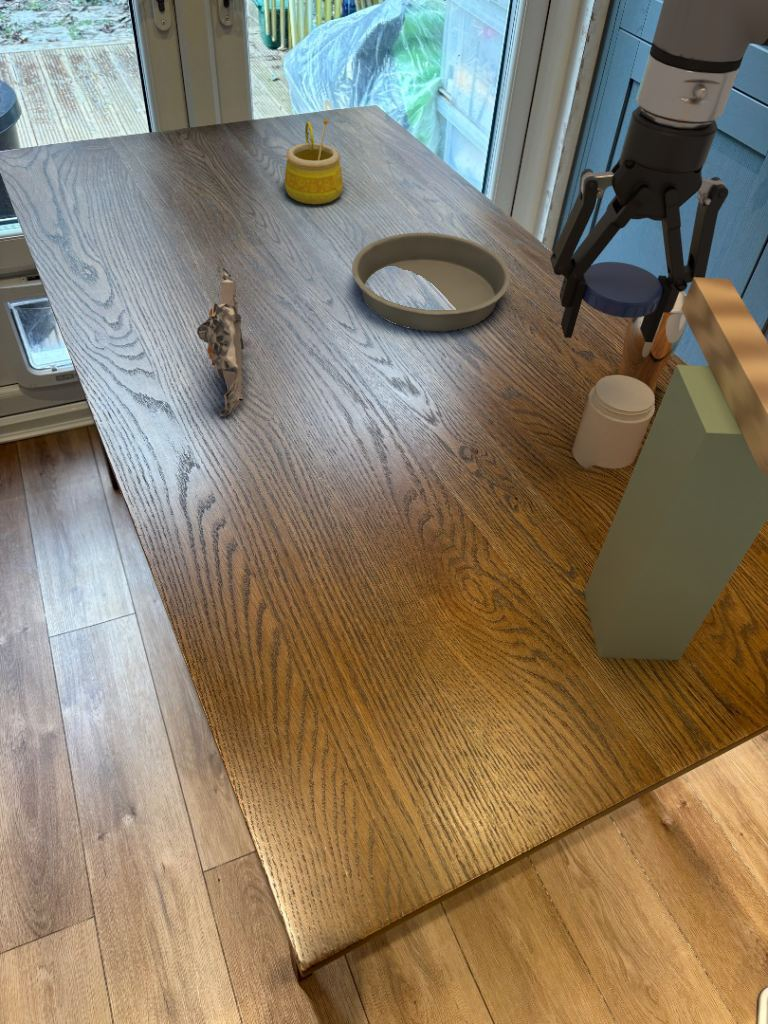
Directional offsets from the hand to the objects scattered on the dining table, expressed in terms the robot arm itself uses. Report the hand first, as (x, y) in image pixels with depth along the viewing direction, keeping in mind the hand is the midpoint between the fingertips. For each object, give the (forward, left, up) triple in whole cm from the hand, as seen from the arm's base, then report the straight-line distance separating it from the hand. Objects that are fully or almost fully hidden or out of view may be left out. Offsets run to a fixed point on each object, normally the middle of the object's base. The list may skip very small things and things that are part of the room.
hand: (606, 332), depth 83 cm
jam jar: (-3, -3, -18) cm, 18 cm away
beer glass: (+5, -16, -18) cm, 24 cm away
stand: (-25, +13, -18) cm, 33 cm away
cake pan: (+39, -3, -18) cm, 43 cm away
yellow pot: (+79, -3, -18) cm, 81 cm away
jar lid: (0, 0, +6) cm, 6 cm away
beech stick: (-23, +12, +12) cm, 28 cm away
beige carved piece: (+31, +34, -18) cm, 49 cm away
